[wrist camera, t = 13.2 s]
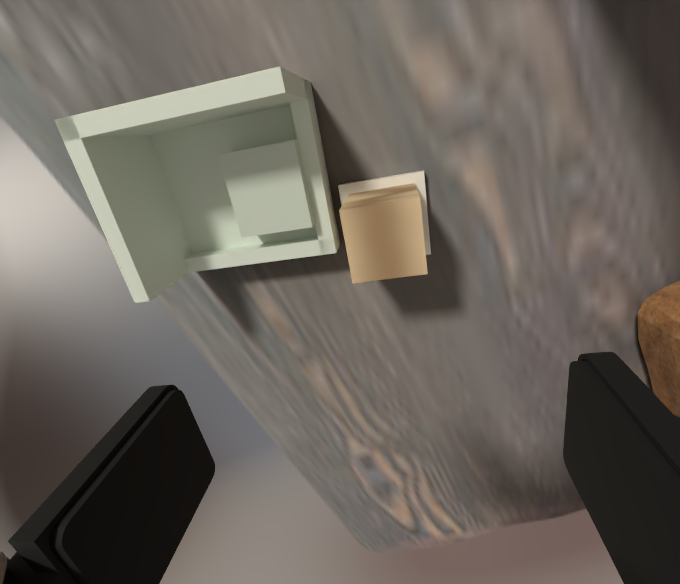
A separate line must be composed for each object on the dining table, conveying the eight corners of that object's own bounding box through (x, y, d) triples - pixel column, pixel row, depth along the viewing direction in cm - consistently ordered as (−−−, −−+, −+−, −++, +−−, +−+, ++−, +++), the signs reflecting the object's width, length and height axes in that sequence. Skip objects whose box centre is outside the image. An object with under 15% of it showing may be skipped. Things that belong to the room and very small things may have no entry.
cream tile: (423, 170, 28) (423, 171, 27) (430, 252, 30) (431, 254, 30) (339, 184, 29) (338, 185, 28) (352, 262, 31) (351, 264, 31)
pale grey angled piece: (310, 82, 26) (279, 66, 19) (340, 243, 31) (324, 280, 24) (139, 121, 29) (54, 120, 21) (190, 264, 33) (134, 302, 26)
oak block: (414, 182, 27) (420, 197, 22) (420, 246, 29) (427, 274, 24) (349, 194, 28) (339, 210, 23) (359, 254, 30) (352, 283, 25)
